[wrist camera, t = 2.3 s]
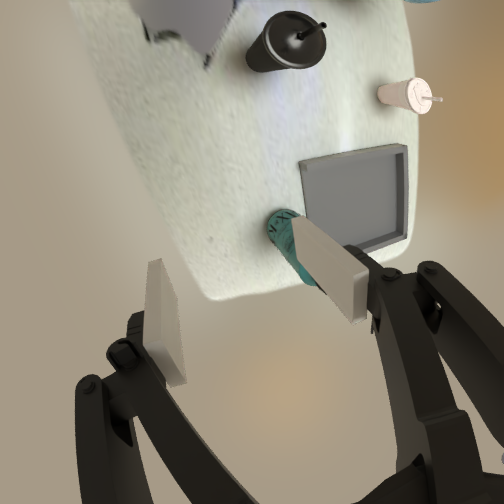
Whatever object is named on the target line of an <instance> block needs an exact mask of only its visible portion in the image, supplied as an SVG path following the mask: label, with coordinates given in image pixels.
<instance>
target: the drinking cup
mask: <svg viewBox="0 0 504 504" xmlns="http://www.w3.org/2000/svg"><path fill="white" fill-rule="evenodd" d="M326 27H327V25H326V23H324V22H321V23H319V24H318V23H317V22H316V21H315V20H314V19H312V18H311V17H310V16H308V15H306V14H304V13H301V12H297V11H283V12H280V13H277V14H275V15H274V16H272V17H271V18H270V19H269V20H268V21H267V22H266V24H265V26H264V29H263V31H262V32H261V34H260V35H259V36H258V38H257V39H256V40H255V42H254V43H253V44H252V46H251V47H250V48H249V50H248V51H247V53H246V62H247V64H248V66H249V67H250V68H251V69H252V70H254V71H256V72H269V71H275V70H282V69H290V68H292V69H305V68H309V67H312V66H314V65H316V64H317V63H318V62H319V61H320V60H321V59H322V58H323V56H324V54H325V51H326V38H325V34H324V32H323V30H322V29H324V28H326Z"/></svg>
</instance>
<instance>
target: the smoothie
mask: <svg viewBox="0 0 504 504" xmlns="http://www.w3.org/2000/svg"><path fill="white" fill-rule="evenodd" d="M377 95H378V98H379V100H380V101H381V102H382V103H384V104H388V105H392V106H396V107H400V108H404V109H408V110H411V111H412V112H414V113H416V114H424V113H426V112H428V111H429V109H430V107H431V104H432V100H434V101H443V99H442V98H436V97H432V94H431V90H430V88H429V86H428V84H427V83H426V82H425V81H424V80H423V79H421V78H415V77H413V78H410V79H409V80H406V81H401V82H396V83H391V84H387V85H382V86H380V87H379V88H378V91H377Z"/></svg>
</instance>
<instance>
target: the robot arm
mask: <svg viewBox="0 0 504 504" xmlns="http://www.w3.org/2000/svg"><path fill="white" fill-rule="evenodd" d="M404 1H406V2H411V3H429V2H435V1H439V0H404ZM291 221H292V228H293V234H294V241H295V248H296V255H297V260H298V261H299V262H300V263H301V264H302V266H303V267H304V268H305V269H306V270H307V271H308V273H309V274H310V275H311V276H312V277H313V278H314V280H315V281H316V282H317V283H318V284H319V286H320V287H321V288H322V289H323V290H324V291H325V293H326V294H327V295H328V296H329V297H330V299H331V300H332V301H333V302H334V303H335V304H336V306H337V307H338V308H339V309H340V311H341V312H342V313H343V314H344V315H345V316H346V318H347V319H348V320H349V321H350V323H351V324H352V325H354V324H356V323H359V322H361V321H363V320H365V319H366V318H367V309H368V310H369V311H370V312H371V314H372V325H371V334H373V330H374V332H375V336H376V339H377V344H378V348H379V352H380V356H381V361H382V365H383V370H384V375H385V379H386V384H387V389H388V394H389V400H390V405H391V410H392V416H393V422H394V429H395V436H396V443H397V452H398V453H397V460H396V474H394V475H392V476H391V477H389V478H387V479H386V480H384V481H383V482H382V483H381V484H380V485H379V486H378V487H376V488H375V489H374V490H373V491H372V492H370V493H369V494H368V495H367V496H366V497H364V498H363V499H362V500H360V501H359V502H356V503H353V504H504V475H500V474H493V473H486V472H483V471H482V465H481V460H480V456H479V452H478V447H477V444H476V439H475V436H474V432H473V428H472V424H471V421H470V418H469V416H468V414H467V412H465V410H459V409H458V408H457V406H456V403H455V400H454V396H453V393H452V390H451V387H450V384H449V381H448V378H447V375H446V373H445V370H444V367H443V364H442V362H441V359H440V356H439V354H440V355H441V356H442V358H443V359H444V361H445V362H446V363H447V365H448V366H449V368H450V369H451V371H452V372H453V374H454V375H455V377H456V378H457V380H458V381H459V383H460V384H461V386H462V387H463V389H464V390H465V392H466V393H467V395H468V396H469V398H470V399H471V401H472V403H473V404H474V406H475V408H476V409H477V411H478V412H479V414H480V415H481V417H482V419H483V421H484V422H485V424H486V426H487V428H488V429H489V431H490V432H491V434H492V435H493V437H494V438H495V439H496V440H497V441H498V443H499V444H500V445H501V446H502V447H503V448H504V327H503V326H502V325H501V323H500V322H499V321H498V320H497V319H496V318H495V317H494V316H493V315H492V314H491V313H490V312H489V311H488V310H487V309H486V307H485V306H484V305H483V304H482V303H481V302H480V301H479V300H477V298H476V297H475V296H474V295H473V294H472V293H471V292H470V291H469V290H467V289H466V288H465V287H464V286H463V285H462V284H461V283H460V282H459V281H458V280H457V279H456V278H455V277H454V276H453V275H452V274H451V273H450V272H448V271H447V270H446V269H445V268H444V267H443V266H442V265H440V264H439V263H437V262H434V261H423V262H421V263H420V264H419V265H418V268H417V272H415V273H409V274H403V273H402V272H401V271H400V270H398V269H395V268H383V267H382V266H381V265H380V264H378V263H377V262H376V261H375V260H373V259H372V258H371V257H369V256H368V255H367V254H366V253H364V252H363V251H362V250H361V249H359V248H358V247H356V246H353V245H350V244H348V245H345V246H341V245H339V244H338V243H337V242H336V241H335V240H333V239H332V238H331V237H330V236H328V235H327V234H326V233H325V232H323V231H322V230H321V229H320V228H318V227H317V226H316V225H315V224H313V223H312V222H311V221H310V220H308V219H307V218H306V217H305V216H299V217H296V218H292V219H291ZM437 303H439V304H440V306H441V308H440V307H439V306H438V305H437ZM126 335H127V337H126V338H121V339H119V340H117V341H115V342H114V343H113V344H111V345H110V347H109V348H108V350H107V353H106V357H107V359H108V360H109V362H110V363H111V365H112V366H113V367H114V369H115V370H116V372H114V373H113V374H111V375H109V376H107V377H106V378H104V379H102V380H101V378H100V377H99V376H98V375H94V374H91V375H87V376H85V377H83V378H82V379H81V380H80V381H79V382H78V384H77V386H76V390H75V436H76V455H77V466H78V476H79V484H80V492H81V499H82V504H154V503H153V500H152V497H151V493H150V490H149V486H148V483H147V479H146V475H145V472H144V468H143V464H142V460H141V455H140V451H139V446H138V442H137V437H136V432H135V427H134V422H133V417H135V416H138V418H139V420H140V421H141V423H142V425H143V427H144V429H145V431H146V433H147V434H148V436H149V438H150V440H151V442H152V443H153V445H154V447H155V448H156V450H157V452H158V453H159V455H160V457H161V458H162V460H163V462H164V463H165V465H166V466H167V468H168V469H169V471H170V473H171V474H172V476H173V477H174V479H175V480H176V482H177V483H178V485H179V486H180V488H181V489H182V490H183V492H184V493H185V495H186V496H187V498H188V499H189V500H190V502H191V503H192V504H259V503H258V502H257V501H256V500H255V499H254V498H253V497H252V496H251V495H250V494H249V493H248V491H247V490H246V489H245V488H244V487H243V486H242V485H241V484H240V483H239V482H238V481H237V480H236V478H235V477H234V476H233V475H232V474H231V473H230V472H229V471H228V469H227V468H226V467H225V466H224V465H223V464H222V462H221V461H220V460H219V459H218V458H217V456H216V455H215V454H214V453H213V452H212V450H211V449H210V448H209V447H208V445H207V444H206V443H205V441H204V440H203V439H202V438H201V436H200V435H199V434H198V432H197V431H196V430H195V428H194V427H193V426H192V424H191V423H190V422H189V420H188V419H187V418H186V416H185V415H184V413H183V412H182V411H181V409H180V408H179V406H178V405H177V404H176V402H175V400H174V399H173V398H172V396H171V395H170V393H169V392H168V390H167V389H166V382H167V383H168V385H169V386H170V387H174V386H177V385H182V384H186V383H187V380H186V374H185V366H184V358H183V350H182V343H181V334H180V324H179V315H178V304H177V296H176V294H175V292H174V289H173V287H172V284H171V282H170V279H169V277H168V274H167V272H166V269H165V267H164V264H163V262H162V259H157V260H154V261H151V262H149V263H148V272H147V283H146V295H145V310H144V311H140V312H137V313H134V314H132V316H131V317H130V319H129V321H128V325H127V334H126ZM438 352H439V354H438ZM502 463H503V464H504V453H503V455H502Z"/></svg>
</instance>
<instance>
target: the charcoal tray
mask: <svg viewBox="0 0 504 504" xmlns="http://www.w3.org/2000/svg"><path fill="white" fill-rule="evenodd" d="M299 165H300V172H301V179H302V186H303V193H304V200H305V207H306V215H307V219H308V220H310V221H311V222H312V223H313V224H315V225H316V226H317V227H318V228H320V229H321V230H322V231H323V232H325V233H326V234H327V235H328V236H330V237H331V238H332V239H333V240H335V241H336V242H337V243H338V244H339V245H341V246H345V245H348V244H350V245H353V246H356V247H358V248H359V249H361V250H362V251H363V252H364V253H366V254H367V253H370V252H372V251H375V250H378V249H380V248H383V247H386V246H388V245H391V244H393V243H396V242H399V241H401V240H404V239H406V238H407V230H408V197H409V181H408V149H407V146H406V145H402V144H398V143H396V144H390V145H383V146H377V147H371V148H365V149H359V150H354V151H348V152H343V153H338V154H333V155H327V156H323V157H318V158H313V159H308V160H304V161H299Z"/></svg>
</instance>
